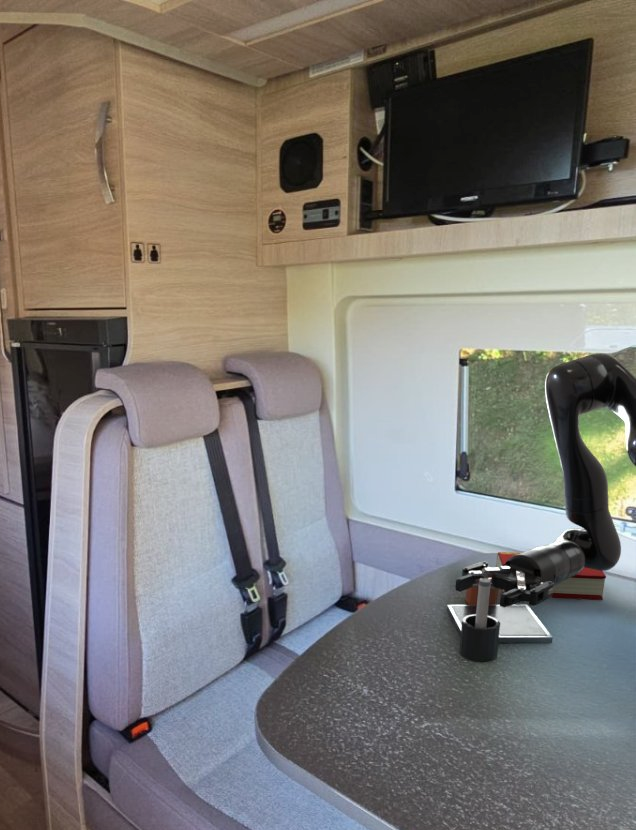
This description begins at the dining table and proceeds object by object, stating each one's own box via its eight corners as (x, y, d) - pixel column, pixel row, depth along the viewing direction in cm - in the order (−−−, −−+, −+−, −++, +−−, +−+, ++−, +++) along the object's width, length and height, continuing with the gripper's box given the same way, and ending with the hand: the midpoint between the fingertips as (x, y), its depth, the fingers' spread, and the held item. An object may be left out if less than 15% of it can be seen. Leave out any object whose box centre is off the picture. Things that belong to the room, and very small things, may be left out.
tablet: (526, 609, 138) (527, 603, 138) (552, 642, 125) (553, 636, 125) (446, 609, 140) (447, 604, 139) (463, 642, 127) (464, 636, 126)
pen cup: (492, 595, 145) (495, 567, 143) (501, 607, 140) (504, 578, 137) (462, 595, 146) (464, 567, 144) (469, 607, 140) (471, 579, 138)
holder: (491, 645, 125) (494, 614, 123) (501, 662, 120) (504, 629, 118) (456, 645, 126) (458, 614, 124) (464, 661, 120) (466, 629, 118)
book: (586, 576, 152) (589, 553, 151) (602, 599, 141) (606, 576, 139) (495, 572, 156) (497, 550, 155) (503, 595, 145) (506, 572, 143)
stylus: (482, 648, 123) (489, 578, 119) (485, 653, 122) (492, 582, 117) (471, 648, 124) (478, 578, 119) (474, 653, 122) (480, 582, 117)
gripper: (503, 540, 131) (445, 560, 122) (578, 560, 120) (520, 584, 111) (499, 578, 133) (442, 601, 125) (573, 601, 122) (515, 628, 114)
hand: (479, 593), depth 118 cm, fingers open, 8 cm apart
